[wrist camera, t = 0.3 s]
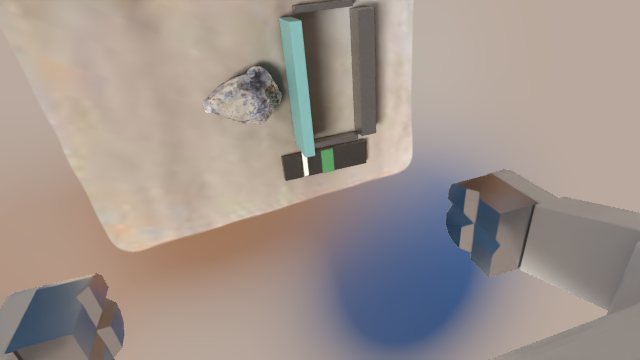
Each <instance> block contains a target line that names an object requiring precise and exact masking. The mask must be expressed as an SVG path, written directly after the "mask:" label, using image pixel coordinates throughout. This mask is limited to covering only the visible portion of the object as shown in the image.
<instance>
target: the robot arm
mask: <svg viewBox="0 0 640 360" xmlns="http://www.w3.org/2000/svg"><path fill="white" fill-rule="evenodd" d="M448 199H449V201H450V202H451V203H452V206H451V207H450V209H449V210H448V212H447V213H446V227H447V230H448V233H449V235H450V237H451V239H452V241H453V242H454V243H455V244H456V245H457V246H458V247H459V248H461V249H464V250H467V251H469V252H470V255H471V260H472V261H473V262H474V263H475V264H476V265H477V266H478V267H479V268H480V269H481V270H482V271H483V272H484V273H485V274H486V275H487V276H488V277H491V276H494V275H498V274H501V273H505V272H508V271H512V270H515V269H519V268H520V270H521V271H523V272H526V273H528V274H530V275H532V276H535V277H536V278H539V279H541V280H543V281H545V282H547V283H549V284H552V285H554V286H556V287H558V288H560V289H562V290H565V291H567V292H569V293H571V294H574V295H576V296H578V297H580V298H582V299H584V300H587V301H589V302H591V303H593V304H595V305H597V306H599V307H602V308H604V309H606V310H608V313H607V315H606V316H604V317H601V318H598V319H596V320H593V321H590V322H588V323H585V324H582V325H580V326H577V327H574V328H572V329H569V330H566V331H564V332H561V333H558V334H556V335H553V336H551V337H548V338H545V339H542V340H540V341H537V342H535V343H532V344H529V345H527V346H524V347H521V348H519V349H516V350H514V351H511V352H508V353H506V354H503V355H500V356H498V357H495V358H492V359H490V360H640V213H638V212H633V211H629V210H624V209H619V208H615V207H610V206H605V205H600V204H596V203H591V202H586V201H582V200H577V199H572V198H568V197H562V198H558V197H556V196H554V195H553V194H551V193H549V192H548V191H546V190H544V189H542V188H540V187H539V186H537V185H535V184H533V183H532V182H530V181H529V180H527V179H525V178H523V177H522V176H520V175H518V174H516V173H515V172H513V171H511V170H506V169H503V170H500V171H496V172H493V173H489V174H487V175H484V176H480V177H477V178H473V179H469V180H465V181H461V182H458V183H454V184H452V185H451V186H450V189H449V192H448ZM107 291H108V286H107V284H106V282H105V280H104V279H103V277H102V275H99V274H97V273H95V274H91V275H87V276H83V277H78V278H74V279H69V280H65V281H61V282H56V283H52V284H48V285H43V286H42V287H35V288H31V289H27V290H23V291H20V292H15V293H13V294H12V295H10V296H8V297H7V298H6V300H5V302H4V303H3V305H2V306H1V308H0V360H115V359H114V357H115V356H116V354H117V353H118V352H119V351H120V350H121V348H122V346H123V339H124V322H123V318H122V315H121V311H120V309H119V307H118V305H117V303H116V302H114V301H112V300H110V299H107V298H106V295H107Z"/></svg>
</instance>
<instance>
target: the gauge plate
mask: <svg viewBox="0 0 640 360" xmlns="http://www.w3.org/2000/svg"><path fill="white" fill-rule="evenodd" d="M279 21H280V29H281V37H282V44H283V52H284V59H285V67H286V75H287V82H288V90H289V98H290V105H291V113H292V121H293V128H294V136H295V143H296V144H297V146H298V147H299V149H300V150H301V152H302V159H303V167H304V175H305V176H308V175H309V171H308V163H307V157H311V156H315V147H314V138H313V128H312V119H311V109H310V99H309V90H308V80H307V70H306V61H305V51H304V41H303V32H302V22H301V20H299V19H296V18H293V17H290V16H289V17H281V18H279Z"/></svg>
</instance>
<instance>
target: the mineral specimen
mask: <svg viewBox="0 0 640 360" xmlns="http://www.w3.org/2000/svg"><path fill="white" fill-rule="evenodd" d="M281 98H282V93H281V92H280V91H279V89H278V87H277V85H276V84H275V82H274V80H273V79H272V77H271V75H270V74H269V73H268V71H267V70H265V69H264V68H262V67H261V66H257V67H256V66H253V67H251V68H250V69H249V70H248V71H247V73H246V74H244V75H240V76H237V77H235V78H232V79H231V80H229V81H227V82H226V83H224V84H223V85H221V86H218V87H217V89H216V90H215V91H214V92H213V93H212V94H211V95H210V96H209V98H208V99H205V101H204V103H203V106H204V107H203V109H204V111H205V112H207V113H215V114H217V115H222V116H224V117H226V118H229V119H233V120H236V121H238V122H242V123H244V124H247V123H254V124H256V123H257V124H259V125H261V124H263V123H265V122H266V121H267V119H268V118H269V117H270V115H271V114H272V113H274V112H275V111H276V109H275V108H277V107H278V106H279V104H280V101H281Z"/></svg>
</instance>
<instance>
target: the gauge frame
mask: <svg viewBox="0 0 640 360" xmlns="http://www.w3.org/2000/svg"><path fill="white" fill-rule="evenodd" d="M350 6H353V0H337V1H328V2H320V3H312V4H304V5H296V6H292V10H293V13H302V12H310V11H318V10H326V9H334V8H342V7H350ZM350 29H351V52H352V75H353V98H354V121H355V130H356V131H357V132H358V133H359V134H360V135H362V136H364V135H369V134H374V133H376V82H375V8H372V7H358V8H350ZM356 139H358V134H357V133H356V132H355V131H353V132H348V133H343V134H338V135H333V136H329V137H324V138H319V139H314V147H315V148H318V147H322V146H327V145H332V144H337V143H342V142H346V141H351V140H356ZM281 159H282V165H283V171H284V178H285V180H286V181H288V180H292V179H297V178H301V177H306V176H305V175H304V167H303V159H302V152H299V153H294V154H289V155H285V156H281ZM307 163H308V171H309V175H308V176H310V175H314V174H319V173H326V172H330V171H335V170H337V169H341V168H346V167H350V166H354V165H359V164H363V163H366V141H365V140H364V139H361V140H356V141H351V142H347V143H342V144H337V145H332V146H328V147H323V148H318V149H315V156H311V157H307Z"/></svg>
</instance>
